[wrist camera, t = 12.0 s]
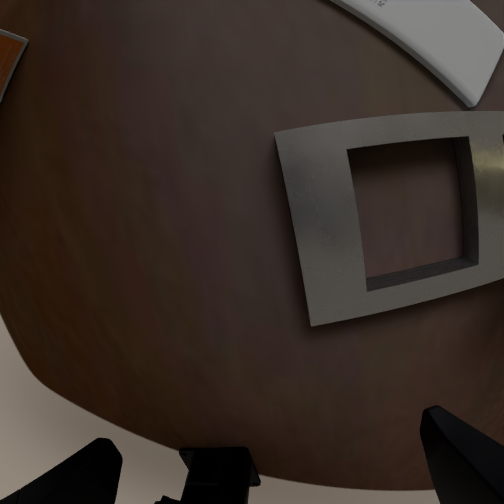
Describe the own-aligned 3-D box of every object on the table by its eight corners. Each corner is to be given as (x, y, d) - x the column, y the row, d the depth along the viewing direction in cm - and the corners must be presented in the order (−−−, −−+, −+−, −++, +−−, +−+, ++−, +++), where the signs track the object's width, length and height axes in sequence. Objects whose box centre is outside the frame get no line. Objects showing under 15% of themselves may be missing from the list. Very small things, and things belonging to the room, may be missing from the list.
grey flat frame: (572, 241, 17) (586, 246, 15) (308, 311, 20) (310, 326, 18) (565, 117, 14) (579, 117, 12) (274, 136, 17) (274, 132, 15)
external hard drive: (464, 109, 16) (314, -4, 15) (497, 41, 14) (367, -59, 13) (476, 106, 15) (316, -15, 14) (509, 36, 12) (372, -70, 11)
